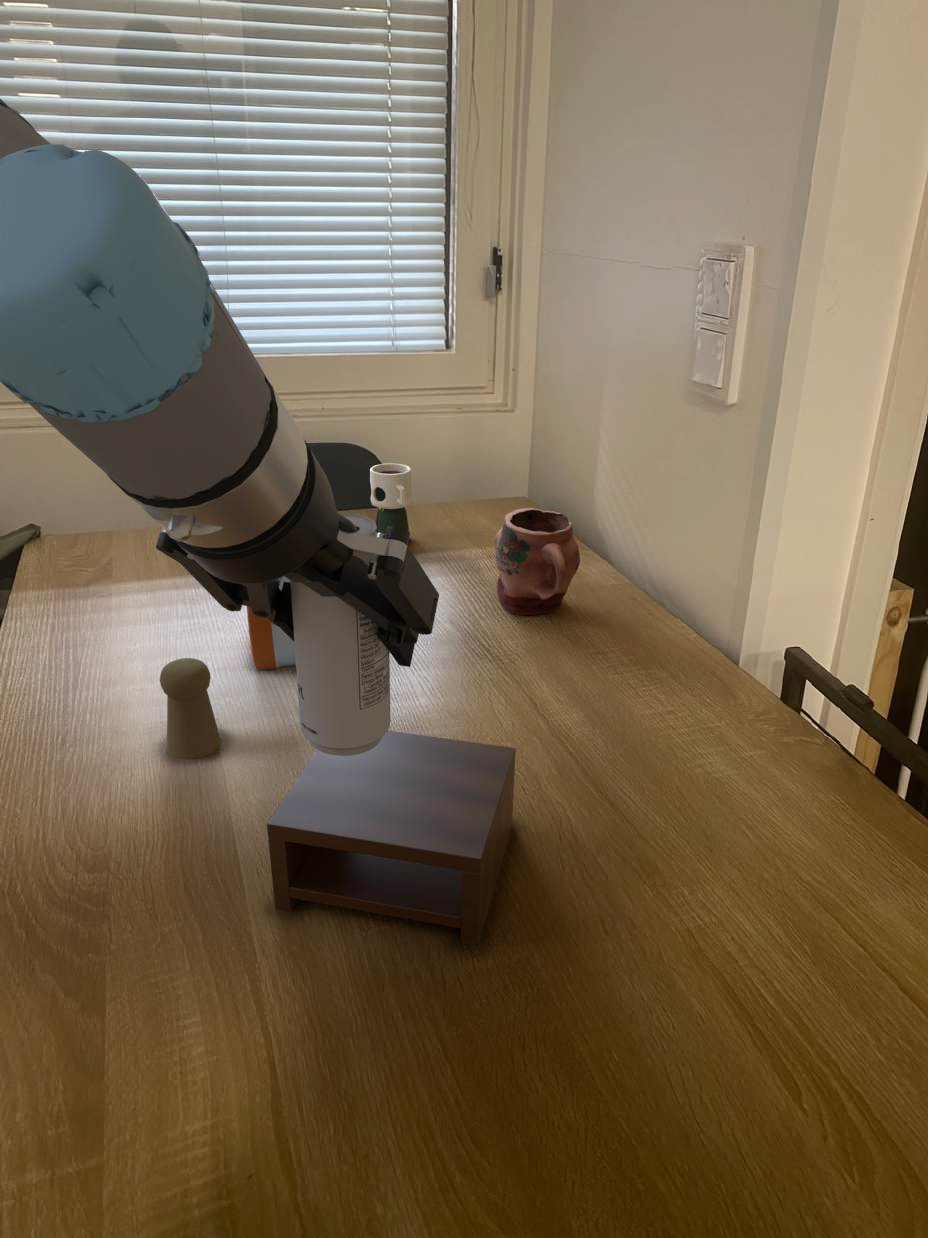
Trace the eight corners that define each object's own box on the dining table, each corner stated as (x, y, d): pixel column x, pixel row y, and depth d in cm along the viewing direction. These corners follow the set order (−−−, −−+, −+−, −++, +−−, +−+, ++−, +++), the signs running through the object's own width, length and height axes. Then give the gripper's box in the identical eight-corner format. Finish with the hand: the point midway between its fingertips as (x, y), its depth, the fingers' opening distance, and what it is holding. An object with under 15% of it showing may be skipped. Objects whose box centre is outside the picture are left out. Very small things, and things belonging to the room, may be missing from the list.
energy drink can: (324, 706, 65) (313, 505, 58) (403, 720, 63) (401, 516, 57) (285, 751, 60) (268, 536, 53) (370, 768, 58) (363, 549, 52)
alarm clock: (333, 681, 116) (323, 512, 106) (254, 686, 114) (237, 516, 105) (327, 608, 136) (319, 460, 126) (260, 612, 134) (246, 462, 124)
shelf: (478, 954, 75) (480, 859, 71) (275, 916, 79) (266, 824, 75) (511, 833, 90) (515, 747, 85) (338, 805, 93) (334, 722, 89)
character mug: (361, 532, 165) (359, 463, 159) (397, 527, 168) (396, 458, 162) (386, 552, 156) (384, 479, 151) (423, 546, 159) (422, 474, 154)
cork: (220, 732, 105) (210, 647, 100) (225, 761, 100) (214, 673, 95) (165, 740, 103) (153, 655, 98) (167, 770, 98) (154, 681, 93)
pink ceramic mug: (603, 629, 131) (611, 538, 125) (526, 642, 127) (531, 549, 121) (541, 577, 148) (546, 495, 141) (472, 587, 143) (473, 503, 137)
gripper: (18, 533, 42) (220, 675, 63) (418, 578, 38) (487, 713, 59) (70, 393, 44) (247, 576, 65) (451, 422, 40) (506, 606, 62)
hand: (361, 641), depth 62 cm, fingers closed on energy drink can, 6 cm apart
